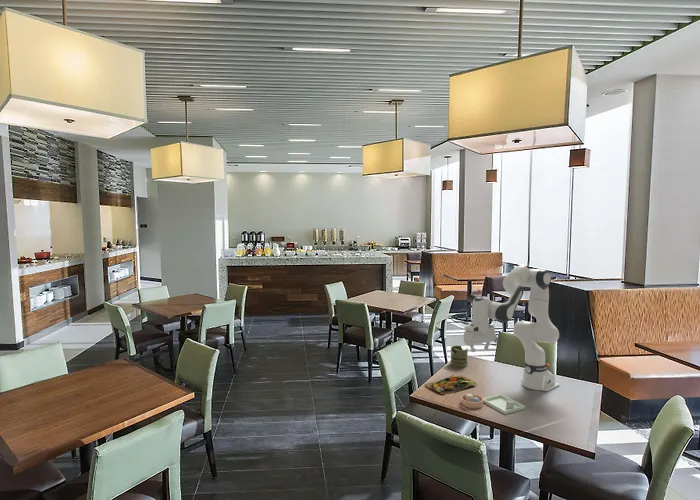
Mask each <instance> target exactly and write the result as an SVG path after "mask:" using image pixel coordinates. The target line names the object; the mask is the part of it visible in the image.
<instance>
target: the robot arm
mask: <svg viewBox="0 0 700 500" xmlns="http://www.w3.org/2000/svg"><path fill="white" fill-rule="evenodd" d="M551 282H552V276H551V274H550V272H549V271H548V270H546V269H538V268H528V267H527V266H525V265H522V264H521V265H517V266H516V267H513V269H511V271H510V272H509V273H508V274H507V275H505V277H504V278H503V280H502V286H503V289H504V290H505V291H506V292H507V294H509V295H510V296H509V298H508V300H507V301H506V302H499V301H498V302H497V301H494V300H490V299H489V298H488V297H487V296H486V295H485V296H484V295H479V296H475V297H474V298H473V300H472V304H471V314H472V317H471V318H472V319H471V321H470V322H469V323H468V324H465V325H464V326H463V327H464V333H463V343H464V344H465V345H467V346H469V347H470V352H471V353H475V352H476V348H474V347H475V345H478V344H483V343H485V345H484V346H483V349H484V350H489V347H490V345H491V342H495V341H496V330H495V325H494V324H492V323H491V324H489V321H490V320H489V319H491V320H497V321H499V322H502V323H508V322H510V321H511V320H512V319H513V317H514V315H515V311H516V309H517V307H518V306H519V304H520V301H521V300H522V297H523V296H524V291H525V290H524V287H527V288H529V289H530V292H529V296H528V305H527V308H528V309H527V311H528V313H529V314H530V315H531V316H532V317H534V318H535V319H536V322H534V321H526V320H523V321H522V320H519V321H516V323H514V326H513V327H512V328H513V334H514V335H515V337H516V338H518V339H519V341H520V342H521V344H522V346H523V349H524V356H525V357H524V363H523V364H524V365H523V368H524V369H523V374H522V378H521V386H523V387H525V388H526V389H530V390H534V391H542V392H543V391H544V392H549V391H551V390H553V389H555V388H557V387H559V386H560V383H558V382H557V381H556V377H555V375H554V374H553V373H552V372H550V371H549V370H548V368H550V366H551V364H550V363H546V352H545V350H544V348H543V347H541V346H540V345H538V344H537V342H540V343H545V344H551V343H552V344H553V343H554V344H555V343H556V342H557V341H558V340H559V338H560V332H559V329H558V328H557V326H555V325H554V324H553V322H552V321H551V319H550V317H549V302H550V291H549V289H550V288H549V286H550V284H551Z"/></svg>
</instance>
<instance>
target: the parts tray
mask: <svg viewBox="0 0 700 500" xmlns="http://www.w3.org/2000/svg"><path fill="white" fill-rule="evenodd" d="M482 398H483V400H484V403H483V404H485V405H487V406H489V407H491V408H492V409H494V410H497V411H498V412H500V413H502V414H504V415H509V414H511V413H515V412H519V411H522V410H525V409H526V405H524V404H522V403H520V402H518V401H516V400H514V399H512V398H509V397H508V396H506V395H503V394H502V393H500V394H497V395H492V396H488V397H485V398H484V397H482ZM507 400H511V401H513V402H514V408H513V409H509V410H507V409H506V401H507Z"/></svg>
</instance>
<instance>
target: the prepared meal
mask: <svg viewBox="0 0 700 500" xmlns="http://www.w3.org/2000/svg"><path fill="white" fill-rule="evenodd" d="M473 385H474V386H477V382H475V381H474V380H472V379H470V378H468V377H465V376H463V375H457V376H456V375H455V374H452V375H450V376H447V377H445V378H443V379H442V378H441V379H440V380H438V381H434V382H428V383H425V384H424V386H425V388H427V389H429V390H433V391H435V392H438V393H439V394H441V396H443V397H444V396H446V395H450V394H454V393H456V392H460V391H462V390H464V389H467V388H469V387H471V386H473Z"/></svg>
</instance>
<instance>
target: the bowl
mask: <svg viewBox="0 0 700 500" xmlns="http://www.w3.org/2000/svg"><path fill="white" fill-rule="evenodd" d="M466 394H467V393H464V394H462V395H461V396H460V403H461V405H462V406H463V407H464V408H466V407H467V408H469V409H480V408H483V406H484V404H485V403H484V400H483V398H484V397H483V396H481V395H478V394H476V393H471V394H472V395H473V397H478V398H479V402H469V401H466V400H465V395H466Z"/></svg>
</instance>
